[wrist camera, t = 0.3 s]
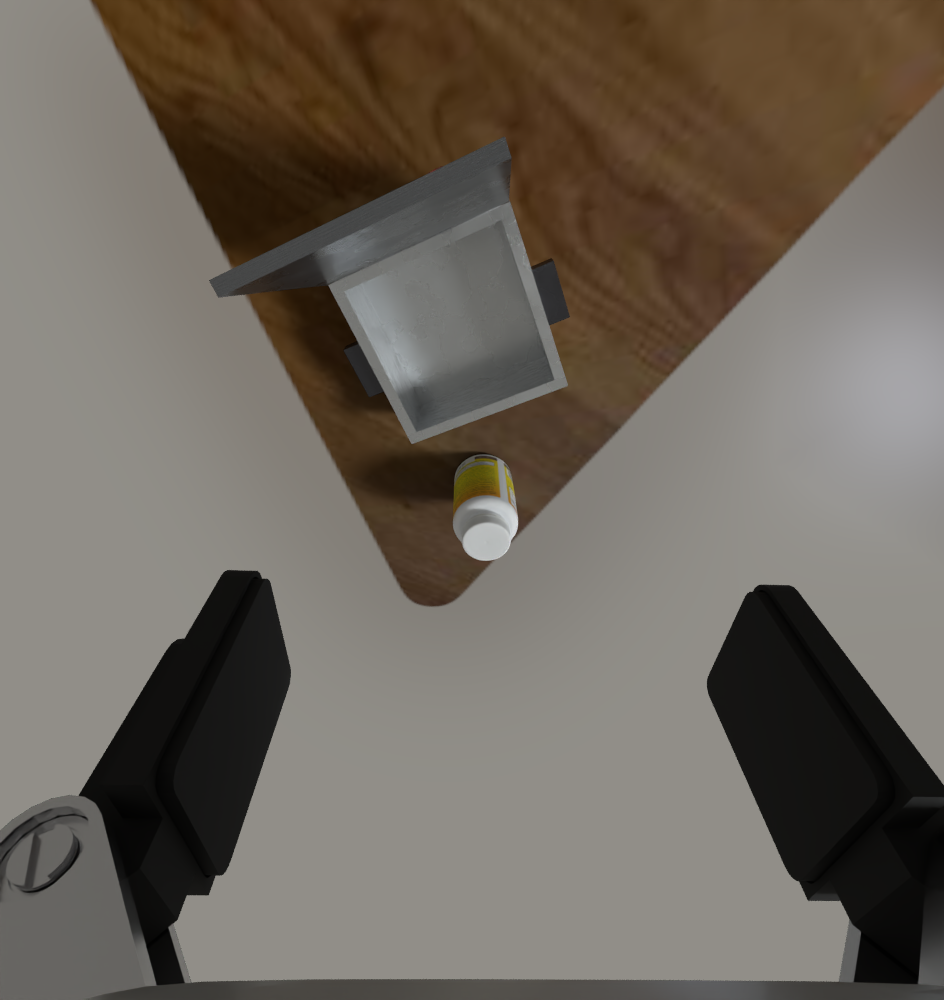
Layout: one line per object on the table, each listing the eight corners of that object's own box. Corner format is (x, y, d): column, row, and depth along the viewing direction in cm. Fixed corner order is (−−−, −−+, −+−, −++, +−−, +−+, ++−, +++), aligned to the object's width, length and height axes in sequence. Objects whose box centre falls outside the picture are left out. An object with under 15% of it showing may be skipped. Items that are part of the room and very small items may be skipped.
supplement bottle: (442, 479, 50) (437, 545, 42) (480, 440, 48) (483, 502, 40) (485, 510, 53) (488, 578, 44) (523, 474, 50) (535, 539, 42)
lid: (328, 285, 35) (317, 262, 34) (508, 203, 32) (500, 176, 31) (219, 298, 21) (197, 260, 21) (512, 159, 19) (496, 111, 18)
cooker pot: (327, 276, 40) (307, 293, 35) (525, 184, 37) (534, 189, 32) (401, 419, 47) (394, 450, 42) (574, 352, 44) (588, 377, 39)
